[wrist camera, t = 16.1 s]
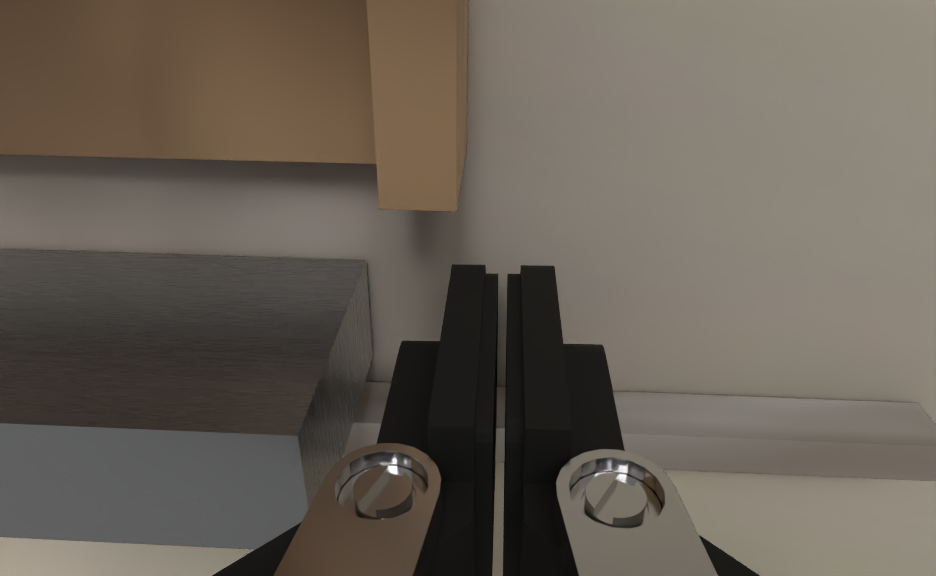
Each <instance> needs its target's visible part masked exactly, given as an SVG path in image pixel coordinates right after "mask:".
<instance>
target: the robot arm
mask: <svg viewBox="0 0 936 576" xmlns="http://www.w3.org/2000/svg"><path fill="white" fill-rule="evenodd" d="M497 341H498V274H486V267H485V265H457V264H453V265H452V269H451V275H450V282H449V288H448V294H447V301H446V307H445V313H444V320H443V326H442V332H441V339H440V341H402V342H401V345H400V349H399V353H398V357H397V361H396V365H395V369H394V373H393V377H392V382H391V386H390V390H389V394H388V398H387V402H386V406H385V410H384V414H383V419H382V423H381V427H380V431H379V435H378V439H377V443H376V444H374V445H369V446H364V447H362V448H359V449H357V450H355V451H352V452H350V453H348V454H347V455H345V456H344V457H343V458H341V459H340V460H339V461H337V462H336V463H335V464H334V465H333V467H332V468H331V469H330V471H329V472H328V473H327V475H326V476H325V478H324V480H323V482H322V484H321V486H320V488H319V490H318V492H317V494H316V496H315V497H314V499H313V501H312V503H311V505H310V507H309V509H308V511H307V513H306V515H305V517H304V518H303V520H302V522H301V523H299V524H297V525H296V526H294V527H292V528H291V529H289V530H287V531H286V532H284V533H282V534H281V535H279V536H277V537H276V538H274V539H272V540H271V541H269V542H267V543H266V544H264V545H262V546H261V547H259V548H257V549H256V550H254V551H252V552H251V553H249V554H247V555H246V556H244V557H242V558H241V559H239V560H237V561H236V562H234V563H232V564H231V565H229V566H227V567H226V568H224V569H222V570H221V571H219V572H218V573H216V574H214V575H213V576H492V562H493V526H494V491H495V456H496V420H497ZM503 576H759V575H758V574H756V573H755V572H753V571H752V570H750V569H749V568H747V567H746V566H744V565H743V564H741V563H740V562H738V561H737V560H736V559H734V558H733V557H731V556H730V555H728V554H727V553H725V552H724V551H722V550H721V549H719V548H718V547H716V546H715V545H713V544H712V543H710V542H709V541H707V540H706V539H704V538H703V537H701V536H700V535H698V533H697V531H696V529H695V527H694V524H693V522H692V520H691V518H690V516H689V514H688V512H687V510H686V508H685V506H684V504H683V501H682V499H681V497H680V495H679V493H678V491H677V489H676V487H675V485H674V484H673V482H672V481H671V479H670V478H669V477H668V475H667V474H666V473H665V472H664V471H663V470H662V469H661V468H659V467H658V466H657V465H656V464H654V463H653V462H652V461H649V460H647V459H645V458H643V457H641V456H639V455H637V454H634V453H630V452H626V451H625V449H624V444H623V439H622V434H621V429H620V424H619V419H618V414H617V409H616V405H615V400H614V395H613V390H612V385H611V380H610V375H609V370H608V365H607V360H606V355H605V351H604V347H603V346H602V345H592V344H563V338H562V329H561V320H560V311H559V302H558V294H557V285H556V276H555V268H554V266H526V265H521V272H520V274H508V284H507V337H506V390H505V459H504V543H503Z"/></svg>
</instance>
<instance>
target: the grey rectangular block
mask: <svg viewBox="0 0 936 576" xmlns="http://www.w3.org/2000/svg"><path fill="white" fill-rule="evenodd" d="M372 357H373V348H372V334H371V320H370V306H369V293H368V279H367V265H366V260H343V259H311V258H279V257H247V256H215V255H183V254H151V253H119V252H87V251H55V250H23V249H0V537H12V538H32V539H53V540H73V541H93V542H114V543H134V544H155V545H175V546H195V547H216V548H236V549H257V548H259V547H261V546H262V545H264V544H266V543H267V542H269V541H271V540H272V539H274V538H276V537H277V536H279V535H281V534H282V533H284V532H286V531H287V530H289V529H291V528H292V527H294V526H296V525H297V524H299V523H301V522H302V520H303V518H304V517H305V515H306V513H307V511H308V509H309V507H310V505H311V503H312V501H313V499H314V497H315V496H316V494H317V492H318V490H319V488H320V486H321V484H322V482H323V480H324V478H325V476H326V475H327V473H328V472H329V471H330V469H331V468H332V467H333V465H334V464H335V463H336V462H337V461H339V460H340V459H341V458H343V455H344V452H345V448H346V445H347V441H348V438H349V435H350V431H351V428H352V425H353V421H354V418H355V414H356V411H357V408H358V404H359V401H360V398H361V394H362V391H363V387H364V384H365V381H366V377H367V374H368V371H369V367H370V364H371V360H372Z"/></svg>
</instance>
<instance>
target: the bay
mask: <svg viewBox="0 0 936 576" xmlns="http://www.w3.org/2000/svg"><path fill="white" fill-rule="evenodd" d="M467 74H468V0H0V154H4V155H44V156H83V157H123V158H162V159H202V160H241V161H281V162H320V163H360V164H376V168H377V184H378V201H379V209H388V210H424V211H457V205H458V199H459V193H460V187H461V181H462V175H463V170H464V164H465V158H466V152H467ZM390 386H391V383H388V382H365V384H364V387H363V391H362V394H361V398H360V401H359V404H358V408H357V411H356V414H355V418H354V421H353V425H352V428H351V431H350V435H349V438H348V441H347V445H346V448H345V452H344V455H343V456H345V455H347V454H348V453H350V452H352V451H355V450H357V449H359V448H362V447H364V446H369V445H374V444H376V443H377V439H378V435H379V431H380V427H381V423H382V419H383V414H384V410H385V406H386V402H387V398H388V394H389V390H390ZM505 390H506V387H497V420H496V456H495V462H503V463H504V459H505ZM613 395H614V400H615V405H616V409H617V414H618V419H619V424H620V429H621V434H622V439H623V444H624V449H625V451H626V452H630V453H634V454H637V455H639V456H641V457H643V458H645V459H647V460H649V461H652V462H653V463H654V464H656V465H657V466H658V467H659V468H661V469H665V470H688V471H712V472H735V473H758V474H781V475H804V476H828V477H851V478H874V479H897V480H920V481H936V424H935V423H934V421H933V420H932V419H931V418H930V416H929V415H928V414H927V413H926V411H925V410H924V409H923V408H922V406H921V405H920V404H919V403H906V402H880V401H854V400H829V399H803V398H777V397H751V396H725V395H699V394H673V393H647V392H621V391H613Z"/></svg>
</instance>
